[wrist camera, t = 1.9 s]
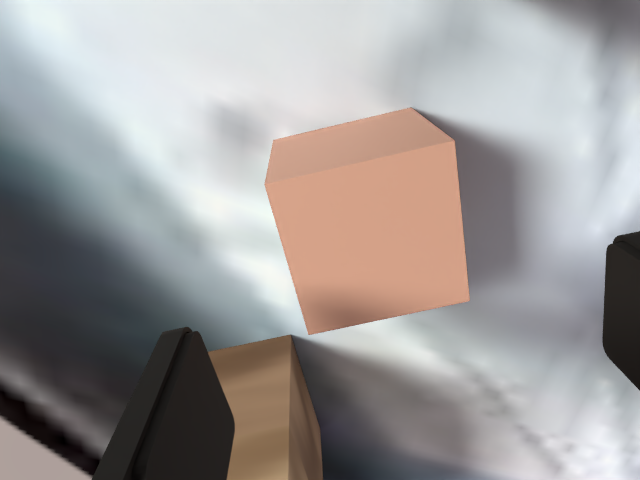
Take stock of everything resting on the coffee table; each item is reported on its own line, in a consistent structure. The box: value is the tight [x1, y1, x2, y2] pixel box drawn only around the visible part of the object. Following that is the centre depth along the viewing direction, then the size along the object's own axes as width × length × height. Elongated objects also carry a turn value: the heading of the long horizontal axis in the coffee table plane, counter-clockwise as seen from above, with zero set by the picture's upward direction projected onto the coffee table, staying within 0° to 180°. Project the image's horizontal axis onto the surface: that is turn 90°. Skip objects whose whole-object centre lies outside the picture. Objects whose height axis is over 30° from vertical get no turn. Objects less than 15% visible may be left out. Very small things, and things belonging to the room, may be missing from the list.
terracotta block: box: [265, 108, 470, 335], centre depth 15 cm, size 5×5×5 cm
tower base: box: [208, 335, 323, 480], centre depth 19 cm, size 6×6×5 cm
